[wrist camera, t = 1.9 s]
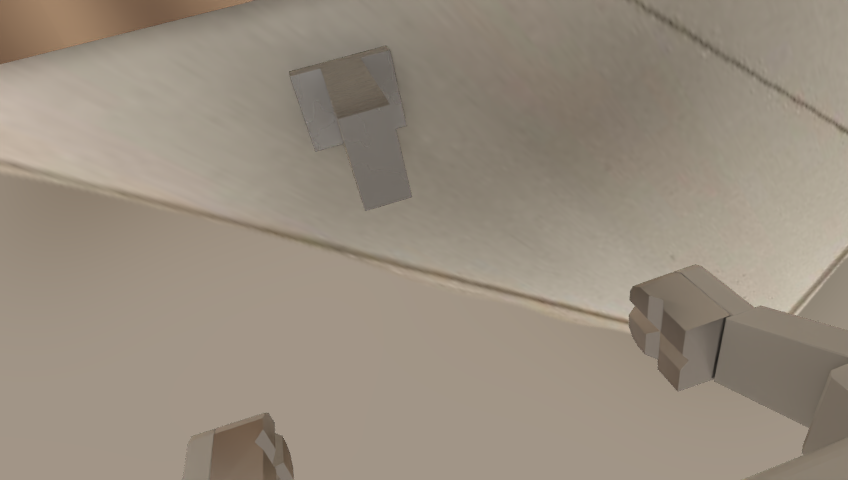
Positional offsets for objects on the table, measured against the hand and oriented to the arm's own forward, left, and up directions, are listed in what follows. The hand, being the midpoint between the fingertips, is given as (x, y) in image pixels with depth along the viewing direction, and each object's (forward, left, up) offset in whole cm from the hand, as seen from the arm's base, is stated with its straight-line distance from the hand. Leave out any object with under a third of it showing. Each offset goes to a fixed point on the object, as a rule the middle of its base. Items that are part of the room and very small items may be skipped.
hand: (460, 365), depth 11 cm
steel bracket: (0, 0, -20) cm, 20 cm away
